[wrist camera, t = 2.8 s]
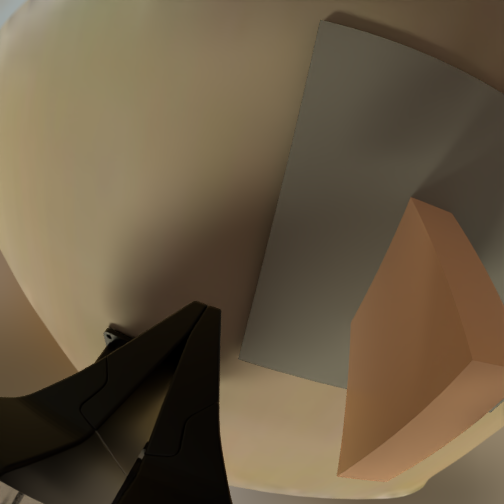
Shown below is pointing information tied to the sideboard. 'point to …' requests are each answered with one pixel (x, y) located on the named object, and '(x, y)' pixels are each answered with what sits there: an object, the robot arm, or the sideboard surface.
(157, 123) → the sideboard surface
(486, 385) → the tile
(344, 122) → the mat
